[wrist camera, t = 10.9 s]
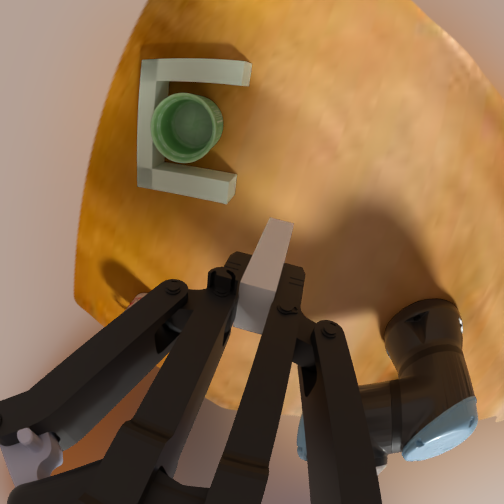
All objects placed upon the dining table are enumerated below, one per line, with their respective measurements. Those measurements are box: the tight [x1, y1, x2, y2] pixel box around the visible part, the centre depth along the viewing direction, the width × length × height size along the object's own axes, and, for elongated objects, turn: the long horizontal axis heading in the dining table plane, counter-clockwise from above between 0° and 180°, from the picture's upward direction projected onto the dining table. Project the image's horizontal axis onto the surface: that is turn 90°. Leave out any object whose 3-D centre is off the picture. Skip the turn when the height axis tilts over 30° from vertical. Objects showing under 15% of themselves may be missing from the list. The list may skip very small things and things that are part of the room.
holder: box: [137, 58, 252, 204], centre depth 34 cm, size 14×18×4 cm
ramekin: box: [150, 93, 223, 163], centre depth 33 cm, size 9×9×4 cm
